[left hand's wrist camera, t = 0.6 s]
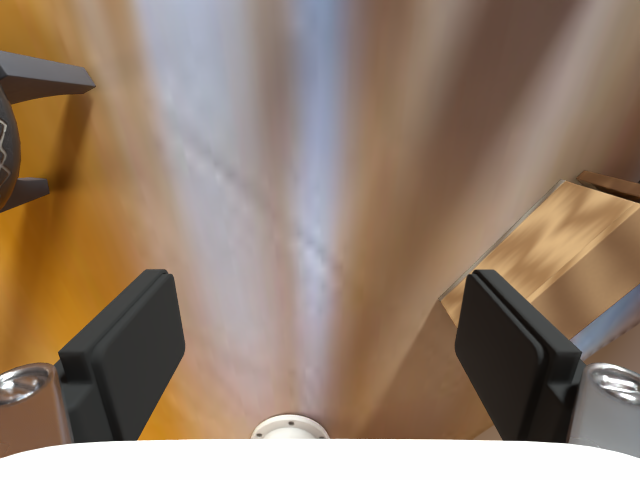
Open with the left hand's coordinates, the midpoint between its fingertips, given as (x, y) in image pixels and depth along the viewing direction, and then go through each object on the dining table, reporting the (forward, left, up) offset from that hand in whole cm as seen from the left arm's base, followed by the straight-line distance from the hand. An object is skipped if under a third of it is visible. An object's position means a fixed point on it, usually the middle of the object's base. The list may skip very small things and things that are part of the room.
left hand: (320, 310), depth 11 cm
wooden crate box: (-10, -25, -30) cm, 40 cm away
